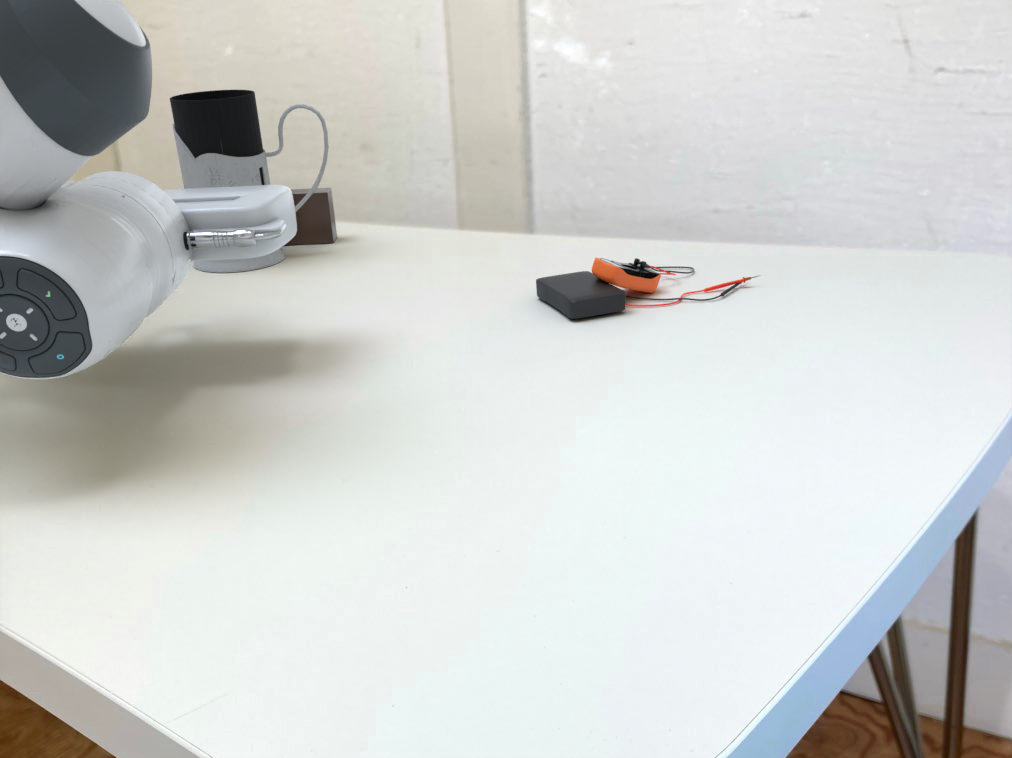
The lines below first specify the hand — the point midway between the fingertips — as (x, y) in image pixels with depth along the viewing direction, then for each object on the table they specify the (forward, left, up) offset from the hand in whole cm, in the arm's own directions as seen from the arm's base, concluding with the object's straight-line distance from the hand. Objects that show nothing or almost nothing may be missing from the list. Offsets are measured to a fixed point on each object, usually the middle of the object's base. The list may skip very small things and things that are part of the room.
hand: (177, 200), depth 81 cm
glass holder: (+1, +20, -10) cm, 22 cm away
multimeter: (+36, +4, -10) cm, 38 cm away
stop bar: (0, +26, -10) cm, 28 cm away
